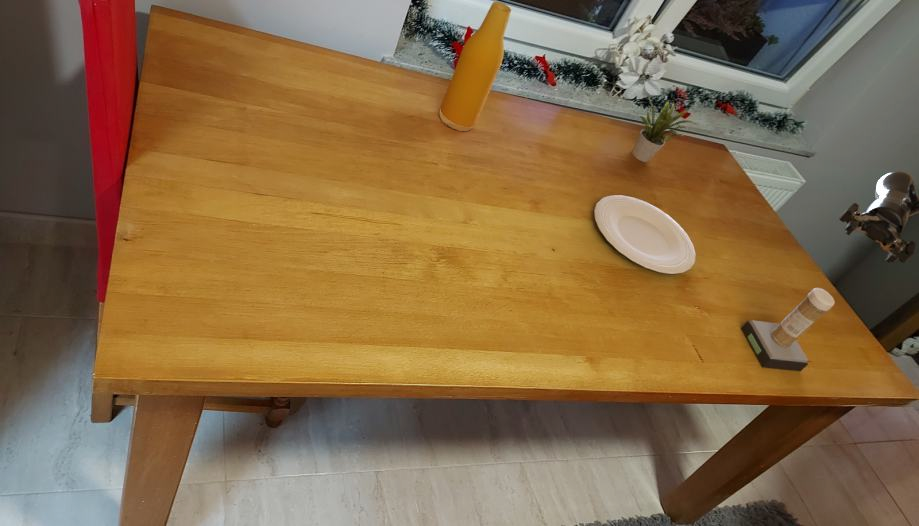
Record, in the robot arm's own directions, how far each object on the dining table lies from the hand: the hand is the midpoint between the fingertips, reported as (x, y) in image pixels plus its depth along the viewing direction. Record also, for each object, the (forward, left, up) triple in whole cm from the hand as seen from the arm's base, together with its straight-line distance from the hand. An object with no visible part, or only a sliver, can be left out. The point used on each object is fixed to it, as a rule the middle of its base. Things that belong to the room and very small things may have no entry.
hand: (870, 244), depth 130 cm
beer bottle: (+67, -54, -26) cm, 90 cm away
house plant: (+14, -56, -26) cm, 63 cm away
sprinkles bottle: (+8, +6, -23) cm, 25 cm away
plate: (+28, -23, -26) cm, 44 cm away
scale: (+8, +6, -26) cm, 28 cm away
